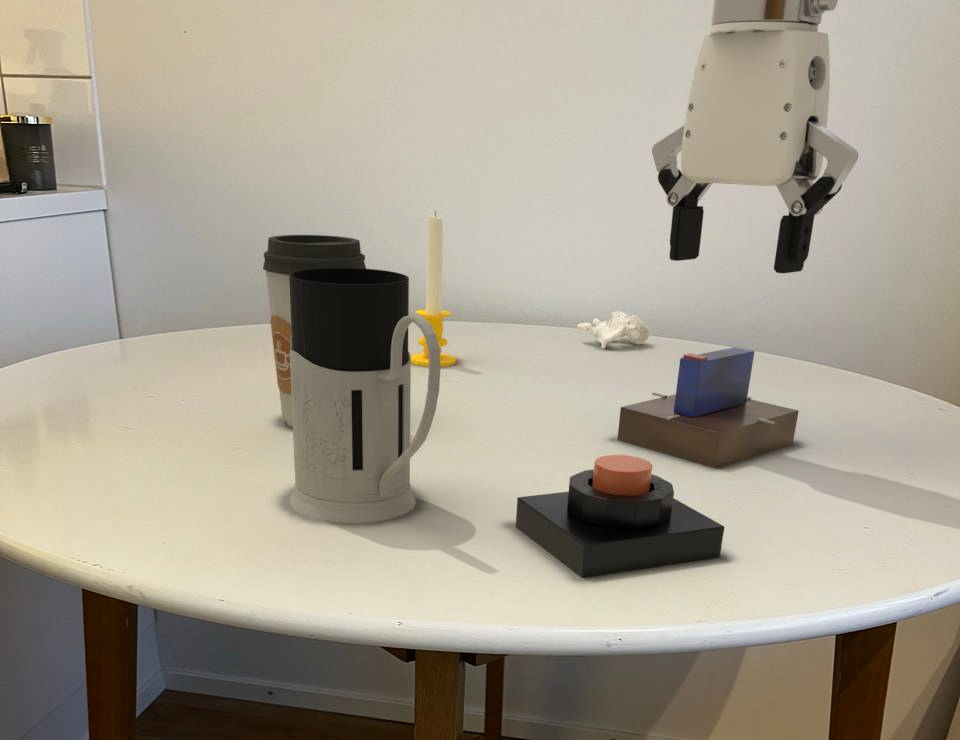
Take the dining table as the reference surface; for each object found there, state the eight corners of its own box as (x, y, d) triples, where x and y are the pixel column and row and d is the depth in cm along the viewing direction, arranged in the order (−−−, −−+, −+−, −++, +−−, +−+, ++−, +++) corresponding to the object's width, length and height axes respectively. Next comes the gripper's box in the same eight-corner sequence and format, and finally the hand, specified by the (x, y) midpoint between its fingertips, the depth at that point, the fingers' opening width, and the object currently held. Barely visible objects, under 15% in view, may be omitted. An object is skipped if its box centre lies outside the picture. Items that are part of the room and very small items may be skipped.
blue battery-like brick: (727, 399, 90) (735, 344, 88) (746, 403, 88) (755, 348, 86) (673, 412, 85) (680, 354, 82) (692, 417, 83) (700, 359, 81)
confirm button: (629, 478, 66) (632, 452, 65) (660, 495, 63) (663, 468, 63) (581, 484, 65) (584, 457, 64) (610, 501, 62) (613, 474, 61)
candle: (456, 358, 115) (461, 210, 108) (454, 368, 110) (459, 213, 103) (410, 356, 115) (412, 207, 108) (406, 366, 110) (408, 211, 103)
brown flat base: (688, 417, 96) (693, 383, 94) (804, 447, 88) (811, 411, 87) (606, 438, 88) (609, 402, 86) (725, 473, 80) (731, 434, 79)
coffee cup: (253, 419, 89) (242, 235, 82) (334, 407, 94) (330, 232, 87) (303, 442, 83) (296, 247, 76) (386, 427, 88) (386, 243, 81)
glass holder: (374, 475, 76) (372, 264, 69) (488, 534, 66) (499, 294, 59) (267, 494, 71) (254, 269, 65) (372, 561, 61) (370, 304, 55)
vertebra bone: (621, 307, 129) (660, 310, 124) (620, 342, 130) (657, 346, 125) (574, 310, 124) (612, 314, 119) (573, 346, 126) (610, 351, 121)
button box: (642, 512, 71) (649, 457, 69) (719, 559, 64) (729, 498, 62) (515, 528, 67) (518, 470, 66) (581, 580, 60) (587, 516, 58)
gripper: (906, 9, 69) (858, 273, 77) (696, 23, 81) (673, 252, 88) (851, -2, 65) (807, 281, 72) (637, 14, 76) (618, 258, 83)
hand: (734, 265), depth 80 cm, fingers open, 9 cm apart
